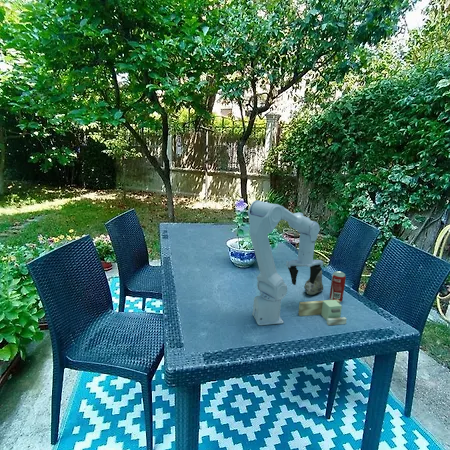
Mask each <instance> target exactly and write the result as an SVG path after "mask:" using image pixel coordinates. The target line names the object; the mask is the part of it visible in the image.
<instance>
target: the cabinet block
mask: <svg viewBox="0 0 450 450" xmlns="http://www.w3.org/2000/svg"><path fill="white" fill-rule="evenodd" d="M322 301H323V300H322ZM342 309H343V306H342V305H341V303H340V304H339V303H338V302H337V301H336V300H330V299H327V301H323V305H322V313H321V315H320V316H322V318H323V319H324V320H325V321H326V322H327V319H328V318H340V317H341V315H342Z"/></svg>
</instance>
